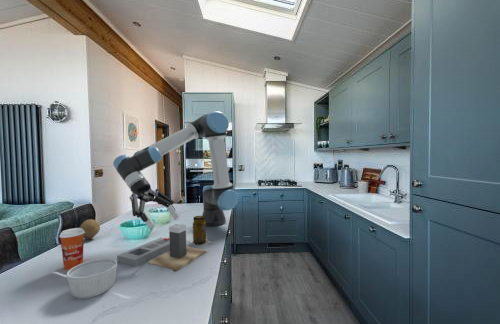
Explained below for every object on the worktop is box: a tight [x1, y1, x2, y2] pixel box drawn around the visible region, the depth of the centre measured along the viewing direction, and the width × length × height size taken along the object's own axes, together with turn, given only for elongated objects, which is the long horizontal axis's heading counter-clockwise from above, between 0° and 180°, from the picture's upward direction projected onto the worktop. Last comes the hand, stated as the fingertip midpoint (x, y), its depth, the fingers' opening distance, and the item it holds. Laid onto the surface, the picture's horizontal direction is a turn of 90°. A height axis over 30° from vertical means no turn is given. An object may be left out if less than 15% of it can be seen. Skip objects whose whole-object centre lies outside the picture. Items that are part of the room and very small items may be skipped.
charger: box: [168, 223, 187, 259], centre depth 96 cm, size 4×5×12 cm
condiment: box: [189, 215, 212, 247], centre depth 114 cm, size 7×8×12 cm
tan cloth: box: [147, 245, 207, 272], centre depth 97 cm, size 18×14×1 cm
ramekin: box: [66, 257, 118, 299], centre depth 75 cm, size 13×13×7 cm
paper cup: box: [59, 227, 85, 271], centre depth 90 cm, size 8×8×14 cm
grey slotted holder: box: [116, 236, 170, 268], centre depth 101 cm, size 22×10×4 cm, turn 154°
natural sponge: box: [79, 218, 101, 240], centre depth 122 cm, size 9×9×10 cm
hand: (165, 222), depth 98 cm, fingers open, 13 cm apart
